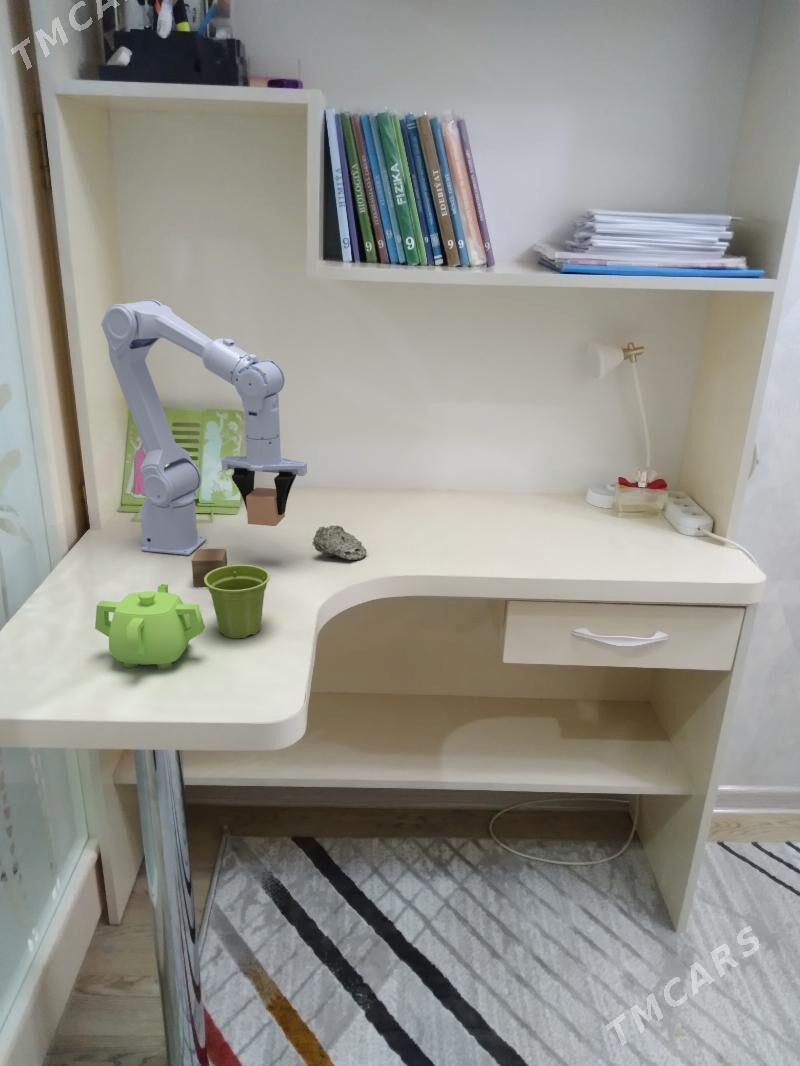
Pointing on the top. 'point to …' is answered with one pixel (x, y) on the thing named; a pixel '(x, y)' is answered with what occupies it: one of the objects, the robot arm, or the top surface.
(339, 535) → the rock sample
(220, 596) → the plant pot
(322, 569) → the top surface
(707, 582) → the top surface
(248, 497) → the terracotta block
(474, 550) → the top surface
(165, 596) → the green handled lidded container
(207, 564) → the walnut block
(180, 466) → the robot arm
